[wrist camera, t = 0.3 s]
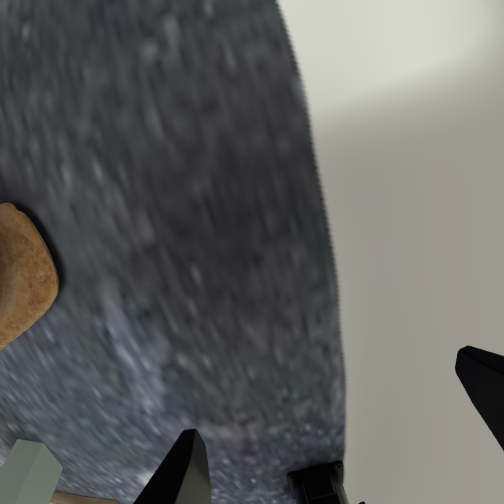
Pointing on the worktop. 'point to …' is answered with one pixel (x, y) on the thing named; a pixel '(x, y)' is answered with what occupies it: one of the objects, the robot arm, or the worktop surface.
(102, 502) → the birch base
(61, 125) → the worktop surface
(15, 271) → the stone cup
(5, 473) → the sage block
